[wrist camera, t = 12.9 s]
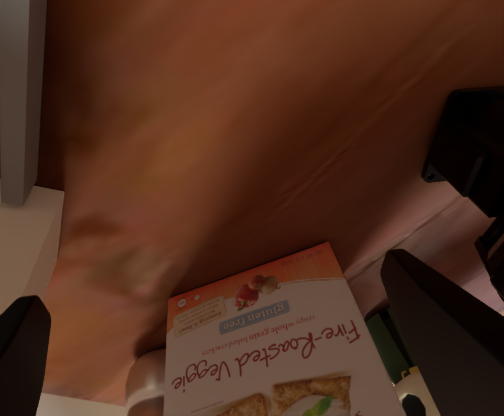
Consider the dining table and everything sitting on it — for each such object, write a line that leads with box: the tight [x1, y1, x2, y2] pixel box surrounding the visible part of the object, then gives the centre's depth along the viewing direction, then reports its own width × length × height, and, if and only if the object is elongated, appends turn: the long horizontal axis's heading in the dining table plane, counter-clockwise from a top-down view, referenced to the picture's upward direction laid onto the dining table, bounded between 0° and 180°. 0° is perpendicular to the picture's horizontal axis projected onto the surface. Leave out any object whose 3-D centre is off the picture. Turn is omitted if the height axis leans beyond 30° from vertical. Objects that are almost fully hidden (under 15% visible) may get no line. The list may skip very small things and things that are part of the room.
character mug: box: [365, 307, 440, 416], centre depth 32 cm, size 11×7×13 cm, turn 123°
